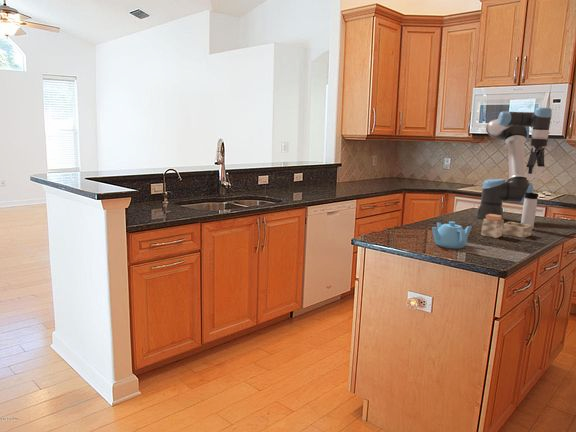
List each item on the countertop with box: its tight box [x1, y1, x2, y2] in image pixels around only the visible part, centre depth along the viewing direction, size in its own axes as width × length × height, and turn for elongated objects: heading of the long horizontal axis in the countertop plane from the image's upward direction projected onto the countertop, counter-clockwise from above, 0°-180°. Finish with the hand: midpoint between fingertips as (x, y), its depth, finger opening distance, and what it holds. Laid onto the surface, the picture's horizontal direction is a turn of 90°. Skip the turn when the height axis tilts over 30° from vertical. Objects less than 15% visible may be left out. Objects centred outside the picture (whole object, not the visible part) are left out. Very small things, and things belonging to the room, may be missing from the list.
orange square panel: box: [485, 214, 502, 222], centre depth 228 cm, size 6×6×3 cm
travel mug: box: [520, 192, 539, 231], centre depth 247 cm, size 6×7×20 cm
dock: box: [480, 219, 533, 239], centre depth 231 cm, size 16×22×8 cm
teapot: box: [431, 220, 473, 250], centre depth 206 cm, size 15×15×11 cm
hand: (533, 179), depth 244 cm, fingers open, 13 cm apart
